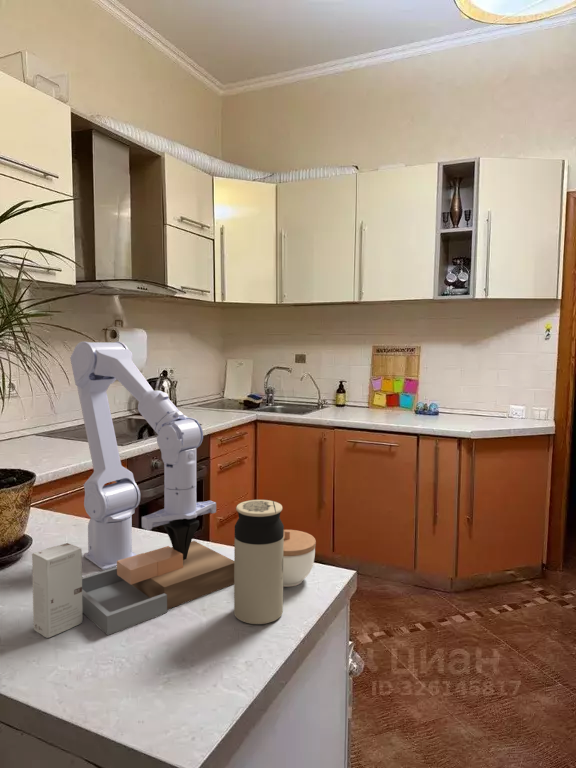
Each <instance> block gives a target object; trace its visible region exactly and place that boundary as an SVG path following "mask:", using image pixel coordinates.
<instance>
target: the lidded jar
mask: <svg viewBox="0 0 576 768" xmlns="http://www.w3.org/2000/svg"><path fill="white" fill-rule="evenodd" d="M316 544H317V541H316V538H315V537H314V536H313V535H312V534H310V533H308V532H306V531H302V530H296V529H284V546H283V588H287V587H288V588H290V587H296V586H299V585H300V584H302V583H303V581H304V580H305V579H306V578H308V576H309V575H310V573H311V571H312V569H313V566H314V563H315V558H316V557H315V556H316Z"/></svg>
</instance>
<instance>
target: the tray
mask: <svg viewBox="0 0 576 768" xmlns="http://www.w3.org/2000/svg"><path fill="white" fill-rule="evenodd" d="M82 613H83V615H85V616H86V617H87V618H88V619H89V620H90V621H91V622H92V623H93V624H95V626H97V627H98V628H99V629H100V630H101V631H102V632H103V633H104V634H105V635H106V636H109V635H112V634H115V633H118V632H119V631H123V630H125V629H127V628H131V627H133V626H136V625H138V623H139V624H140V623H143V622H146V621H149V620H151V619H155V618H156V616H157V617H159V616H162V615H165V614H167V613H168V610H167V595H166V594H165V593H163V594H161V595H158V596H155V597H152V598H149V597H148V596H147V595H145V594H144V593H142V592H141V591H140V590H138V589H137V588H135V587H134V586H133V585H130V584H129V583H128V582H126V581H125V580H124V579H122V578H121V577H119V576H118V575H117V566H116V567H113V568H109V569H106V570H102V571H99V572H98V571H97V572H94V573H92V574H91V573H90V574H88V575H85V576H84V575H83V576H82ZM161 614H162V615H161Z"/></svg>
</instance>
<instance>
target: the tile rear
mask: <svg viewBox="0 0 576 768" xmlns="http://www.w3.org/2000/svg"><path fill="white" fill-rule="evenodd" d="M143 553H144V554H146V555H147V556H149V557H151V558H152V559H154V560H156V561H157V563H158V576H159V575H162V574H165V573H168V572H171V571H174V570H177V569H180V568H183V554H182V553H180V552H178V551H177V550H175V549H173V548H171V546H169V545H168V546H163V547H159V548H156V549H153V550H150V551H147V552H143Z"/></svg>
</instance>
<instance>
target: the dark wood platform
mask: <svg viewBox="0 0 576 768" xmlns="http://www.w3.org/2000/svg"><path fill="white" fill-rule="evenodd" d="M170 547H171V546H170ZM171 548H173V546H172V547H171ZM132 585H133V586H134V587H135V588H137V589H138V590H140V591H141V592H142V593H144V594H145V595H147V596H148V597H149V598H152V597H155V596H158V595H161V594H163V593H165V594H166V595H167V611H168V610H171V609H173V608H175V607H178V606H180V604H181V605H183V604H186V603H188V601H189V602H191V601H194V600H196V599H199V598H201V597H204V596H206V595H209V594H212V593H214V592H217V591H220V590H222V589H225V588H228V587H230V586H233V585H234V559H231V558H229V557H227V556H226V555H223V554H221V553H220V552H217V551H215V550H213V549H211V548H209V547H207V546H205V545H203V544H201V543H199V542H197V541H195V540H192V541H191V543H190V547H189V550H188V554H187V559H185V560H183V568H180V569H177V570H174V571H171V572H168V573H165V574H162V575H159V576H155V577H152V578H149V579H146V580H143V581H140V582H137V583H135V584H132ZM185 602H186V603H185ZM172 607H173V608H172Z"/></svg>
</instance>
